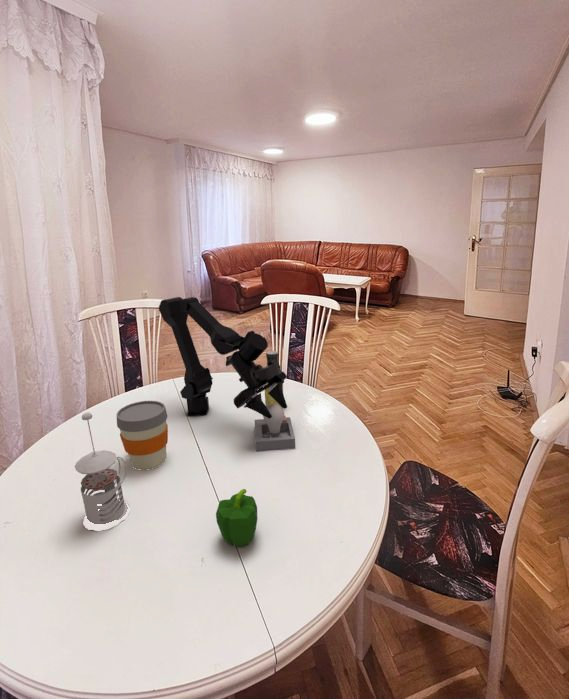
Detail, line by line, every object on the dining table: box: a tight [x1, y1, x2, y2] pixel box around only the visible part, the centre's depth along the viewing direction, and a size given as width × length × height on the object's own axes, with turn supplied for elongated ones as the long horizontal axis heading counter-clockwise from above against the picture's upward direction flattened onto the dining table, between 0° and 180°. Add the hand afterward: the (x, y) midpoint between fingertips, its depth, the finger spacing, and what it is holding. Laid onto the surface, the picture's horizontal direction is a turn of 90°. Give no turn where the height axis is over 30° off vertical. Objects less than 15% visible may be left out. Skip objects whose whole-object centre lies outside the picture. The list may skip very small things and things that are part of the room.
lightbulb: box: [262, 404, 285, 438], centre depth 115 cm, size 6×6×11 cm
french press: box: [74, 411, 128, 524], centre depth 85 cm, size 10×12×25 cm
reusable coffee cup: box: [116, 400, 169, 471], centre depth 106 cm, size 13×13×15 cm
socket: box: [254, 415, 296, 452], centre depth 117 cm, size 11×13×4 cm
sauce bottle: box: [264, 350, 284, 409], centre depth 134 cm, size 7×6×20 cm
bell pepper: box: [215, 488, 258, 548], centre depth 79 cm, size 8×8×10 cm
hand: (278, 412), depth 113 cm, fingers open, 7 cm apart
